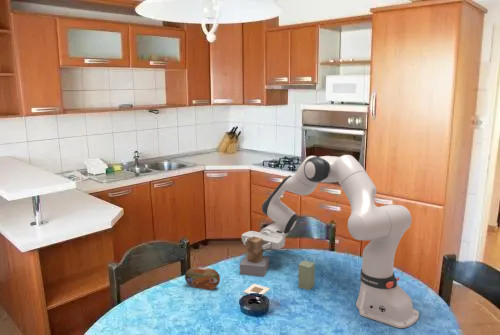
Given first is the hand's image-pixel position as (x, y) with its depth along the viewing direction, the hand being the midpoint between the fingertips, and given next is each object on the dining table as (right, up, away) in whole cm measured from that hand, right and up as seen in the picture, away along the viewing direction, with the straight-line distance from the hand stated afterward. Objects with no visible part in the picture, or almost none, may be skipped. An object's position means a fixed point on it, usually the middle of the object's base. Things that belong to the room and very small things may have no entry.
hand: (253, 245), depth 186 cm
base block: (+1, -12, +3) cm, 12 cm away
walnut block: (+1, -7, +2) cm, 7 cm away
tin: (-21, -15, -12) cm, 29 cm away
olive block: (+22, -15, -13) cm, 29 cm away
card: (+1, -15, -16) cm, 22 cm away
